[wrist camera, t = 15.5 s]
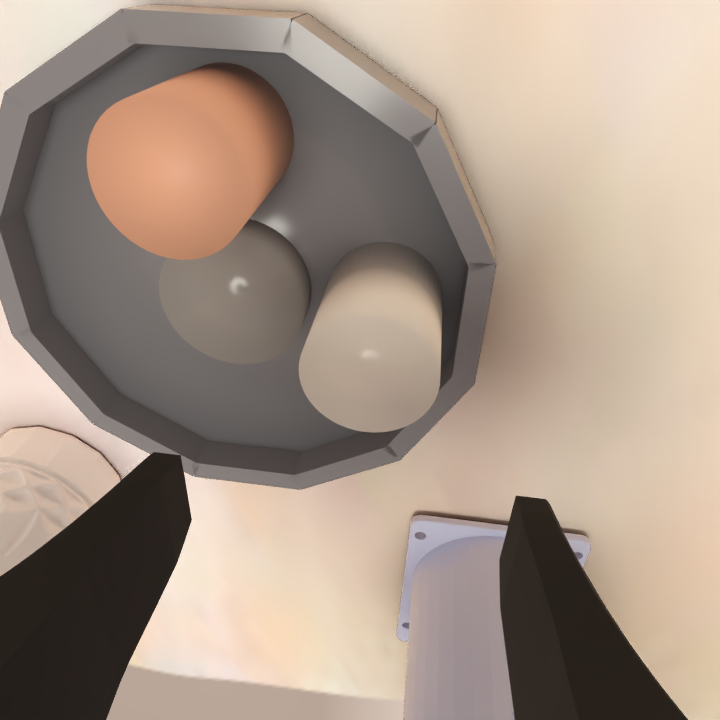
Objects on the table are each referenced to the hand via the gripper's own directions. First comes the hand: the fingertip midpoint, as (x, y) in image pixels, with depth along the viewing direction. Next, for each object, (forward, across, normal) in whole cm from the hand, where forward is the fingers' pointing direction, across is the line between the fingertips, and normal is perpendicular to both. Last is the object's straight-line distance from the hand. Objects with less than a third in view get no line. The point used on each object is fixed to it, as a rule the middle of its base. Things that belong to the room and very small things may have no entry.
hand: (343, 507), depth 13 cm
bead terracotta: (+10, +5, -5) cm, 12 cm away
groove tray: (+10, +5, 0) cm, 12 cm away
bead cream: (+10, 0, 0) cm, 10 cm away
